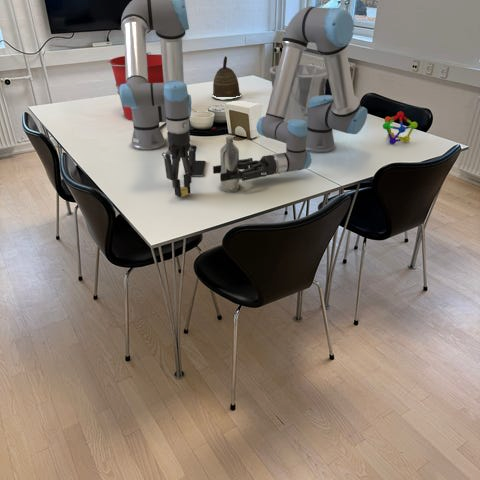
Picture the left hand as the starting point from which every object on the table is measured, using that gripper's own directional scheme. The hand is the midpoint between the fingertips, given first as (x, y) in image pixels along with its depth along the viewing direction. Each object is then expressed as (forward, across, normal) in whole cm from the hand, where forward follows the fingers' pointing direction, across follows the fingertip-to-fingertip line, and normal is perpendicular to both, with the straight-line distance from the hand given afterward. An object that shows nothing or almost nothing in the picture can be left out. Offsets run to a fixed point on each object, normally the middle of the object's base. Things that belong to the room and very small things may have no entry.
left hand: (182, 193), depth 161 cm
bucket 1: (+1, +48, +96) cm, 107 cm away
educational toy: (+1, +109, -23) cm, 111 cm away
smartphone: (+1, +19, +16) cm, 25 cm away
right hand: (-6, +13, -5) cm, 15 cm away
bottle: (+1, +17, -6) cm, 19 cm away
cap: (-2, 0, 0) cm, 2 cm away
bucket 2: (+1, +95, +27) cm, 98 cm away
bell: (+1, +106, +94) cm, 142 cm away
